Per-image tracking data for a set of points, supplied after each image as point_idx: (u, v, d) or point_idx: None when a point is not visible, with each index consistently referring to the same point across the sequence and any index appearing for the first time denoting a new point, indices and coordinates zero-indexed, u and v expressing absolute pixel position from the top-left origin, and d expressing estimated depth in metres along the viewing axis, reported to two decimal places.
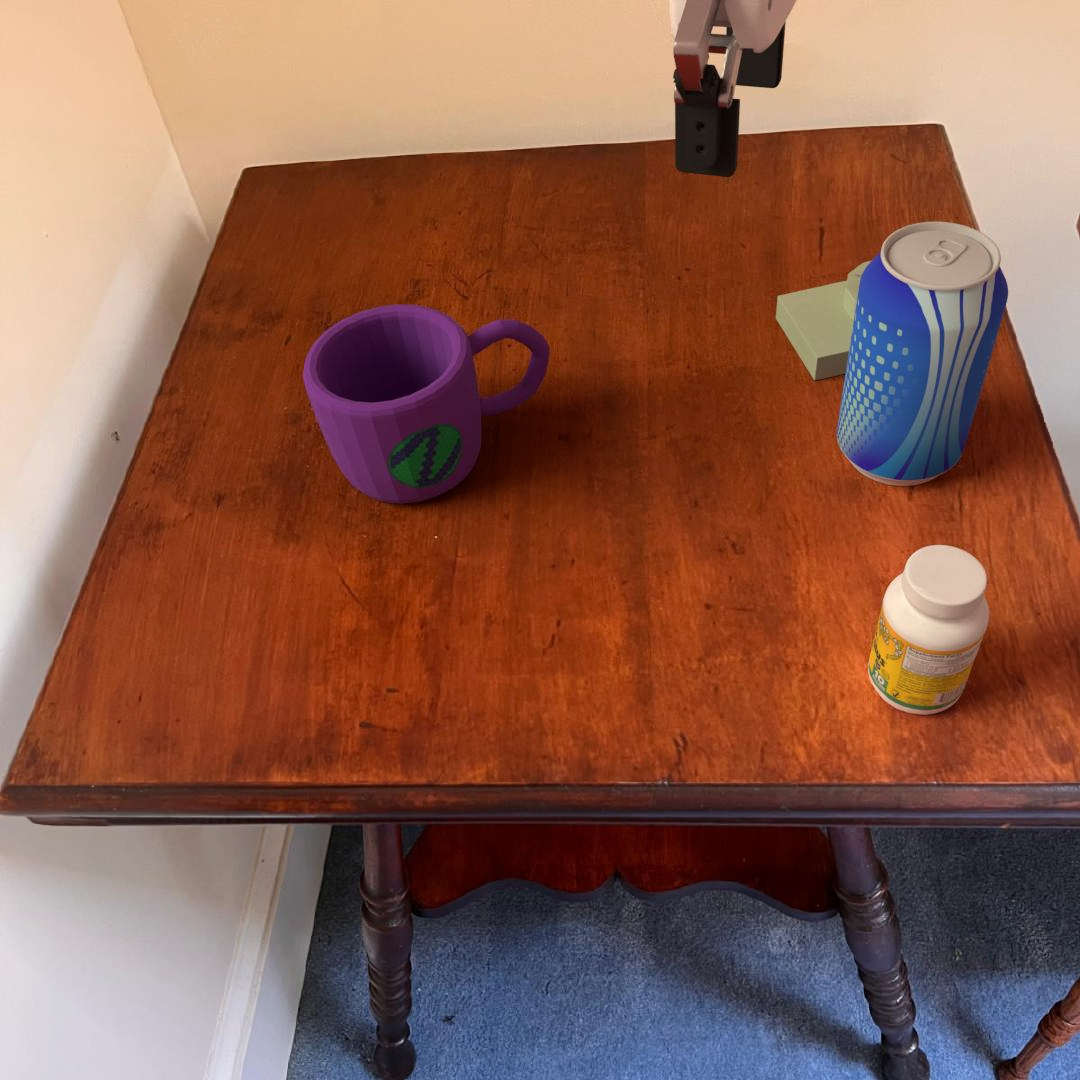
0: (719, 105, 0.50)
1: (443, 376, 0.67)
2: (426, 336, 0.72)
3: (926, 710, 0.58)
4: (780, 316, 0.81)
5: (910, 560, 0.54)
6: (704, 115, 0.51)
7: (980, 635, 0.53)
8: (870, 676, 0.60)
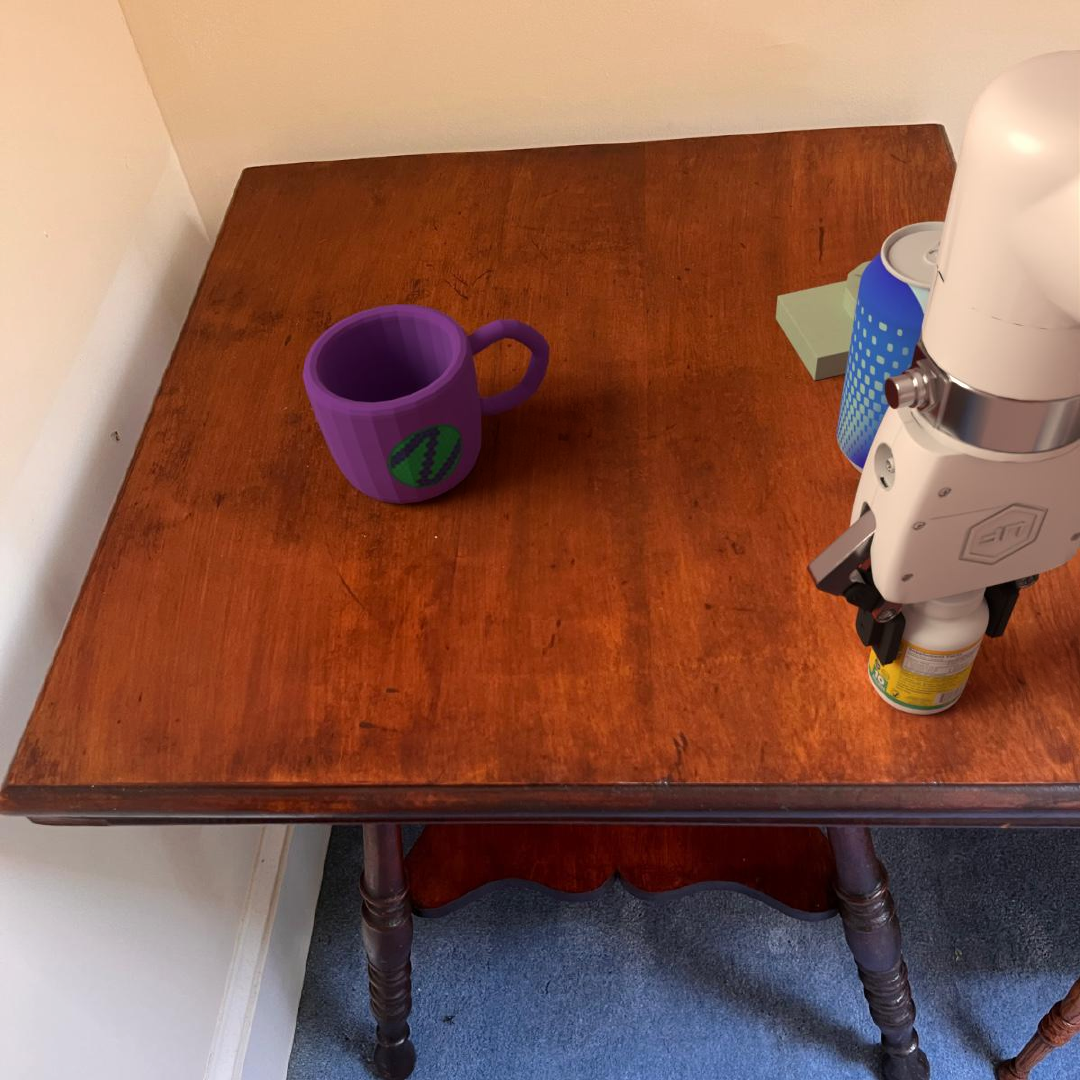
0: None
1: (443, 376, 0.67)
2: (426, 336, 0.73)
3: (926, 710, 0.58)
4: (780, 316, 0.81)
5: None
6: None
7: (980, 635, 0.53)
8: (870, 676, 0.60)
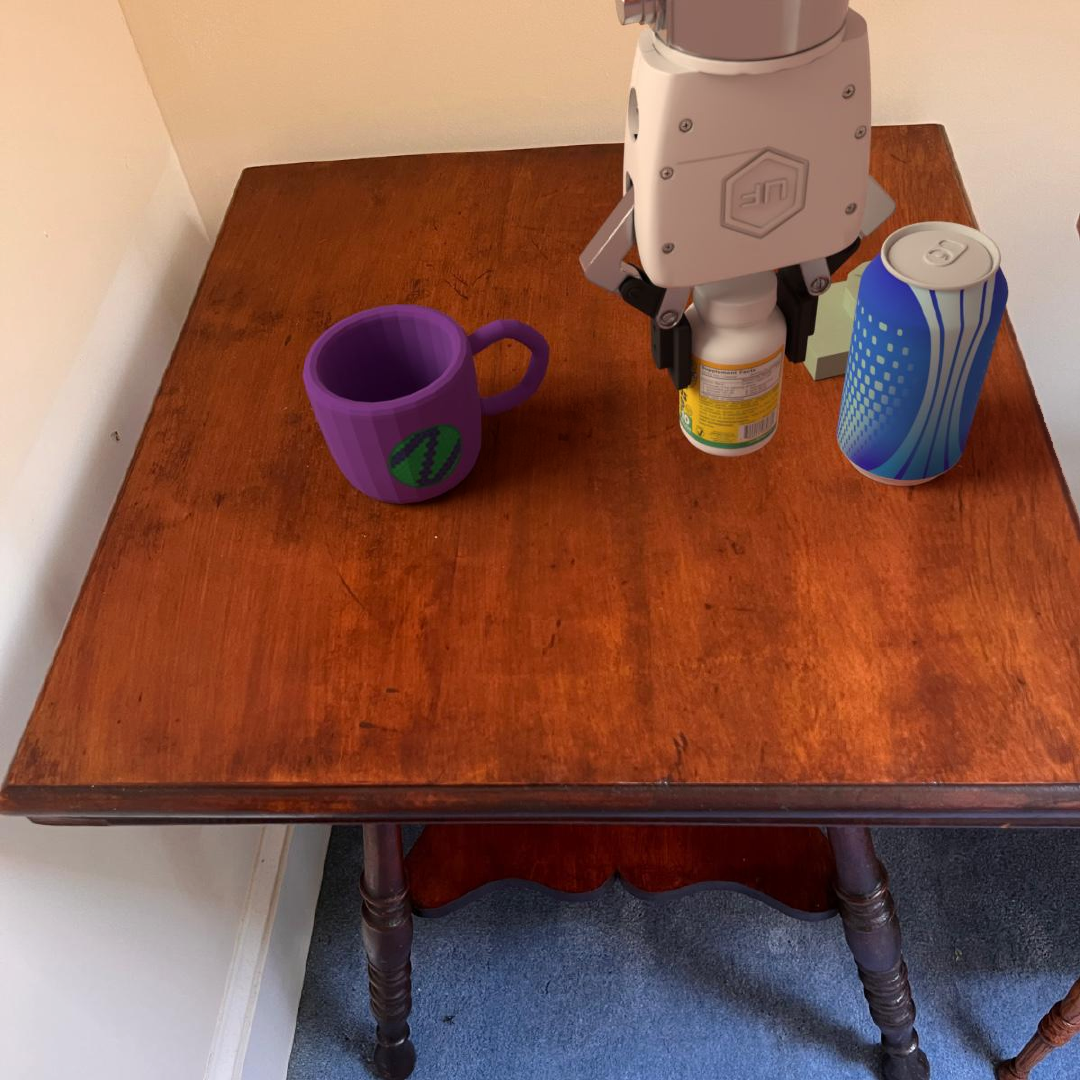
0: None
1: (443, 376, 0.67)
2: (426, 336, 0.73)
3: (732, 449, 0.55)
4: None
5: None
6: (655, 321, 0.50)
7: (774, 348, 0.51)
8: (680, 422, 0.57)
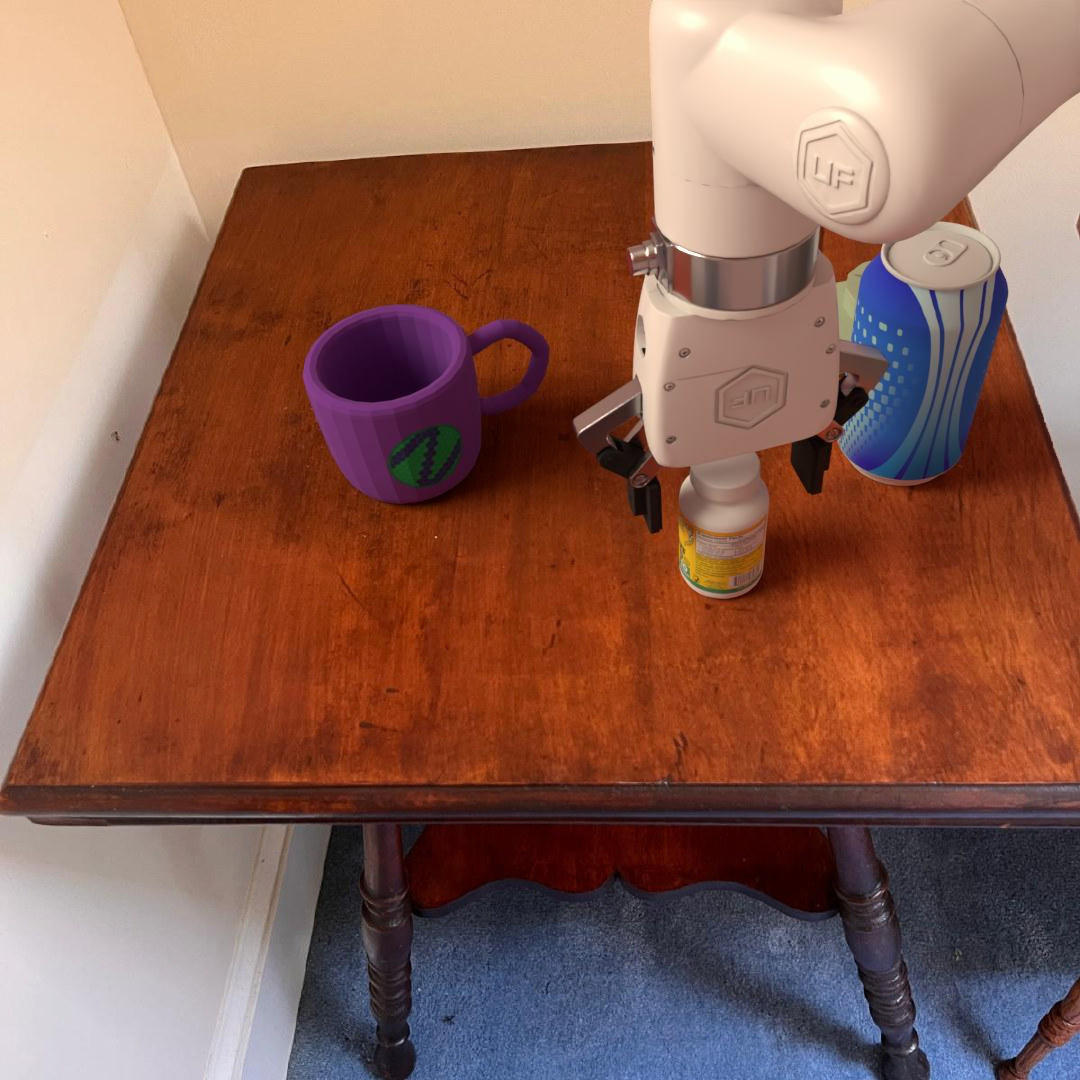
0: (629, 480, 0.57)
1: (443, 376, 0.67)
2: (426, 336, 0.72)
3: (724, 594, 0.64)
4: None
5: None
6: None
7: (758, 519, 0.60)
8: (679, 566, 0.66)
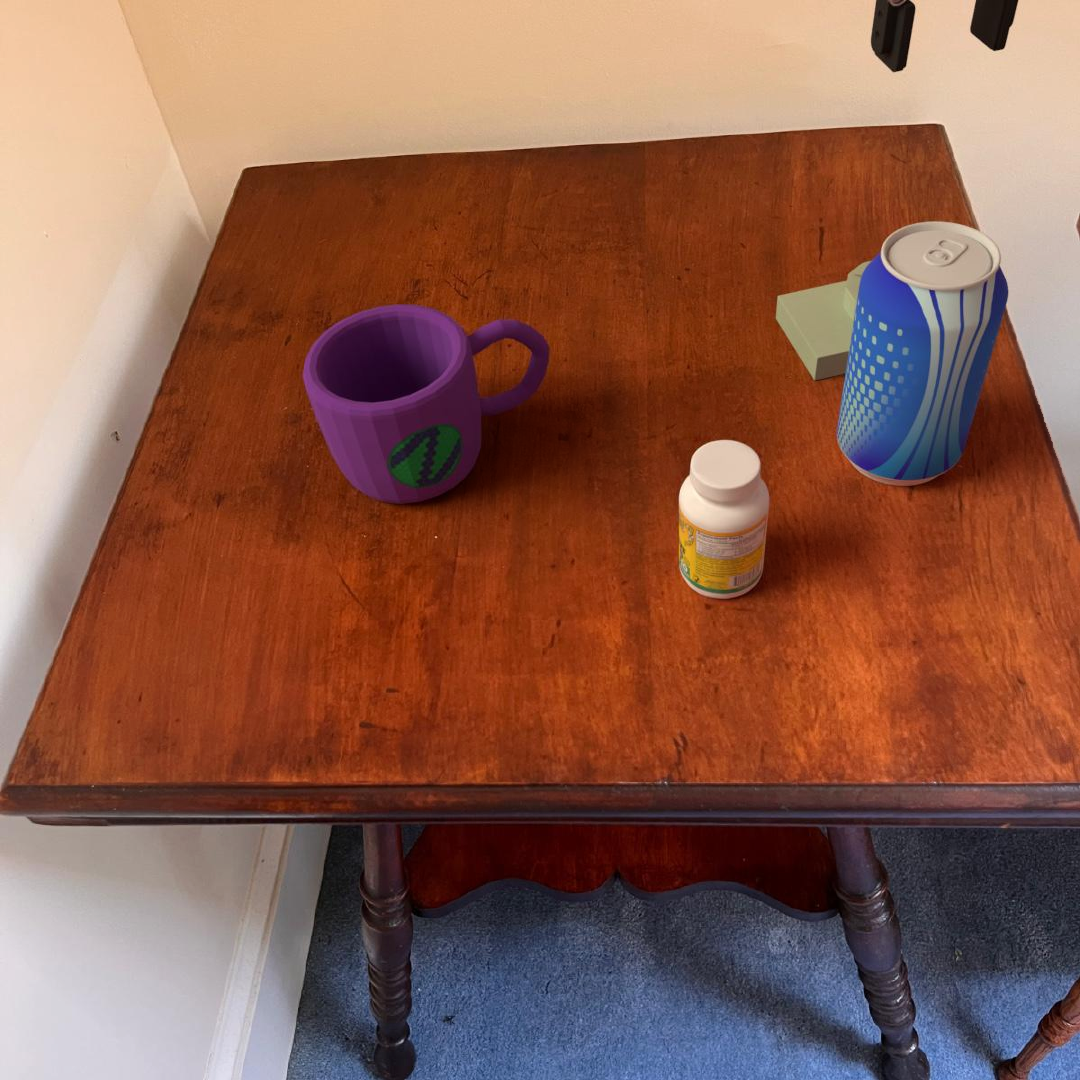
0: (888, 1, 0.60)
1: (443, 376, 0.67)
2: (426, 336, 0.72)
3: (724, 594, 0.64)
4: (780, 316, 0.81)
5: (696, 452, 0.60)
6: (882, 5, 0.61)
7: (758, 519, 0.60)
8: (679, 566, 0.66)
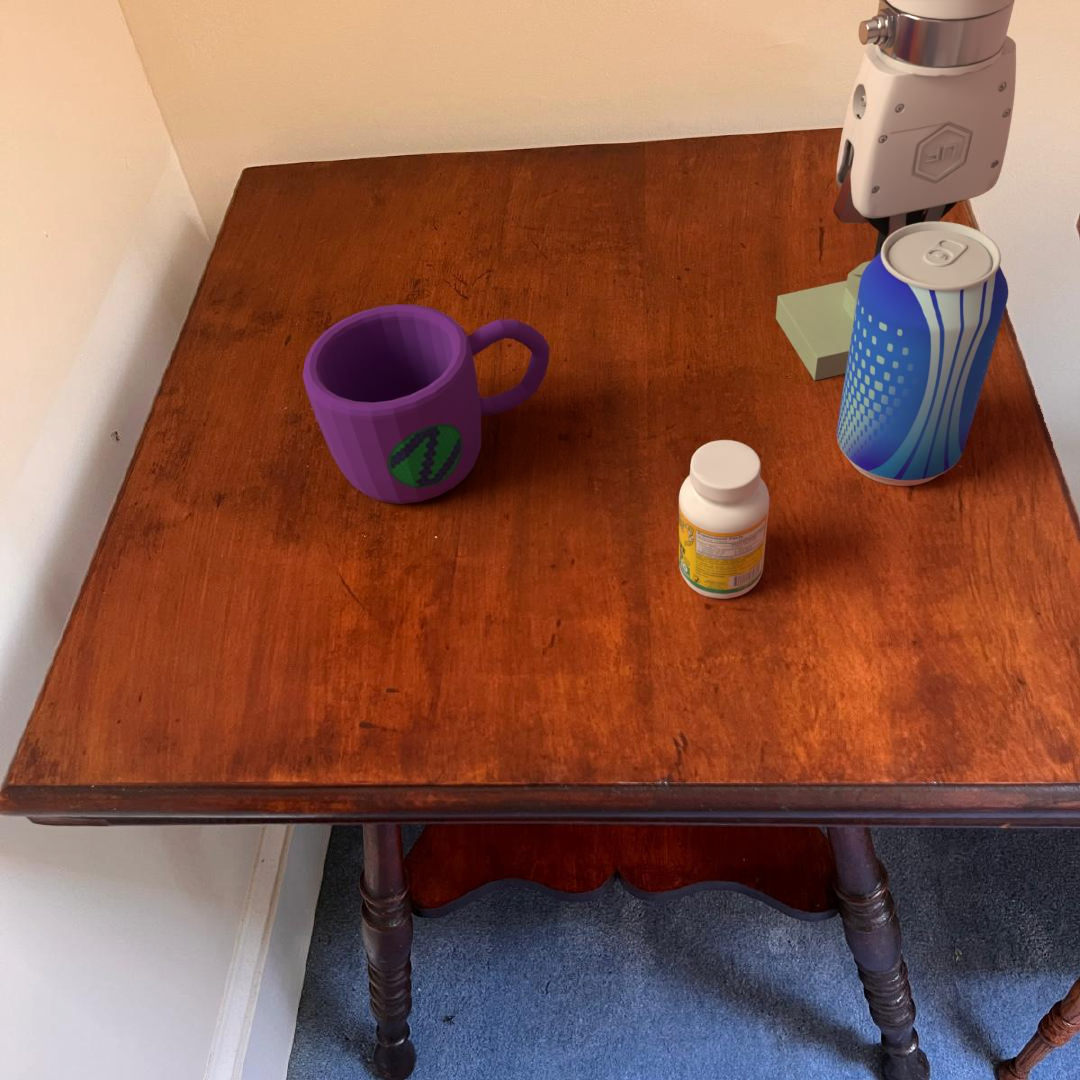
0: None
1: (443, 376, 0.67)
2: (426, 336, 0.72)
3: (724, 594, 0.64)
4: (780, 316, 0.81)
5: (696, 452, 0.60)
6: (883, 239, 0.74)
7: (758, 519, 0.60)
8: (679, 566, 0.66)
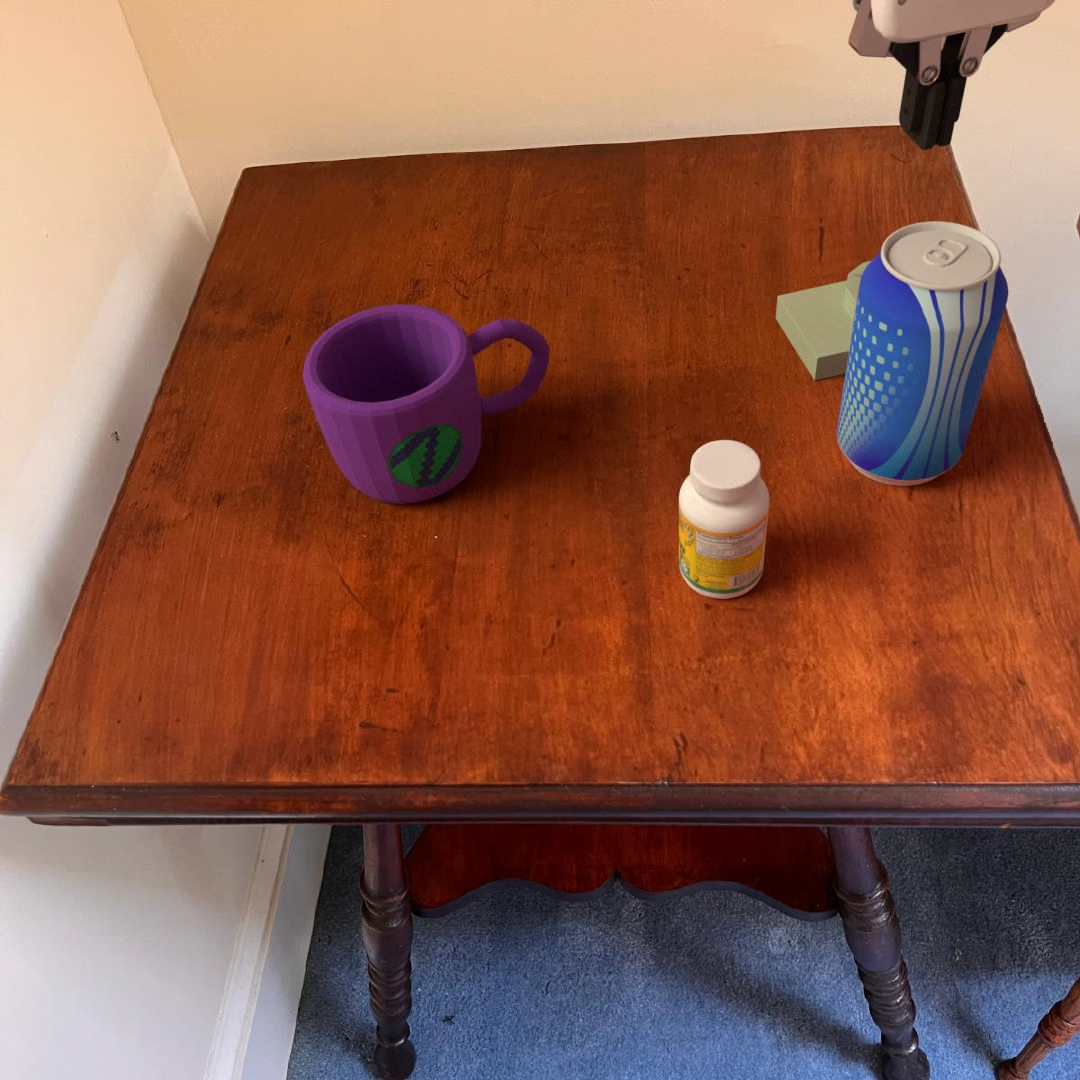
0: None
1: (443, 376, 0.67)
2: (426, 336, 0.72)
3: (724, 594, 0.64)
4: (780, 316, 0.81)
5: (696, 452, 0.60)
6: (912, 83, 0.59)
7: (758, 519, 0.60)
8: (679, 566, 0.66)
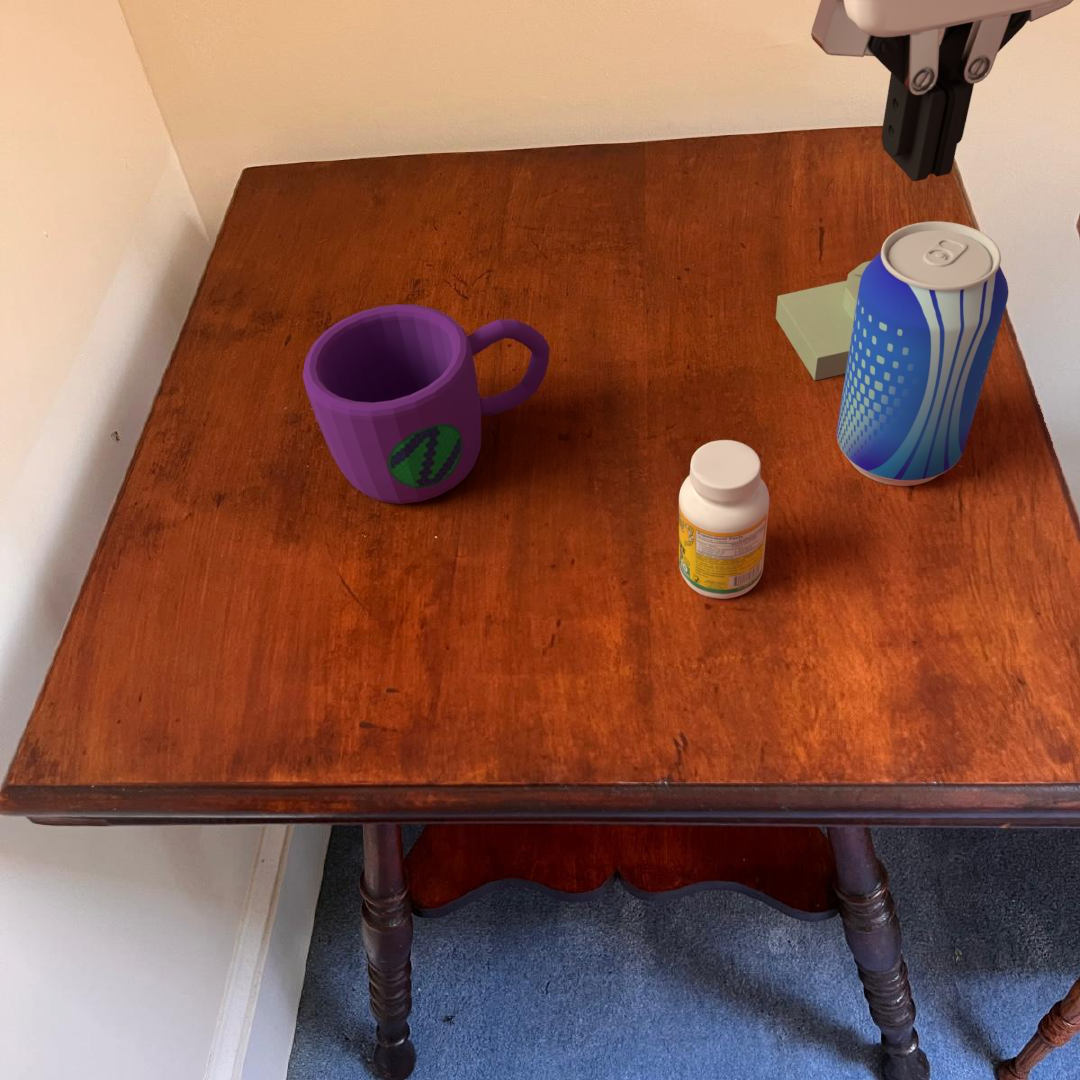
0: None
1: (443, 376, 0.67)
2: (426, 336, 0.72)
3: (724, 594, 0.64)
4: (780, 316, 0.81)
5: (696, 452, 0.60)
6: (899, 92, 0.43)
7: (758, 519, 0.60)
8: (679, 566, 0.66)
